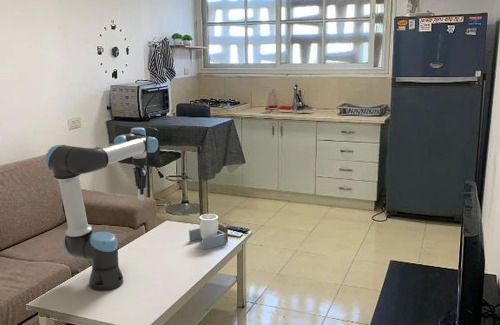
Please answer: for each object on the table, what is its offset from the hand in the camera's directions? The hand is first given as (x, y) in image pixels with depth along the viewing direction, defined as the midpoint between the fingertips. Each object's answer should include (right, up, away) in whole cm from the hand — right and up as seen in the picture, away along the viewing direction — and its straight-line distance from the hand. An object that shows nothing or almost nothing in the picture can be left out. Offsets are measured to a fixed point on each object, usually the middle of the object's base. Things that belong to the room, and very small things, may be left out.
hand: (141, 199), depth 262 cm
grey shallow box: (+34, -25, +11) cm, 44 cm away
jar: (+36, -25, +12) cm, 45 cm away
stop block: (+42, -24, +17) cm, 51 cm away
